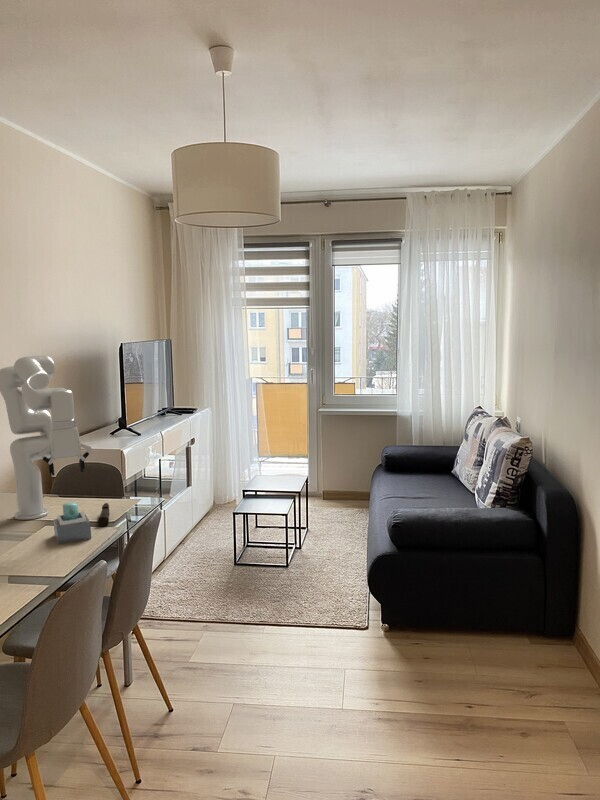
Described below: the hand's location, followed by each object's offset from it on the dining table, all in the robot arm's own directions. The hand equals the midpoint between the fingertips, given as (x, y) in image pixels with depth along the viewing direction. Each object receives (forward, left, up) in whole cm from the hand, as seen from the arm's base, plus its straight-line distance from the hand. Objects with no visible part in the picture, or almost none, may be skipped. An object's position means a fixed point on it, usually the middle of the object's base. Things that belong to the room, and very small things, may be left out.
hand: (67, 473), depth 227 cm
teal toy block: (0, 0, -17) cm, 17 cm away
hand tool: (-16, +14, -24) cm, 32 cm away
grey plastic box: (0, 0, -23) cm, 23 cm away
